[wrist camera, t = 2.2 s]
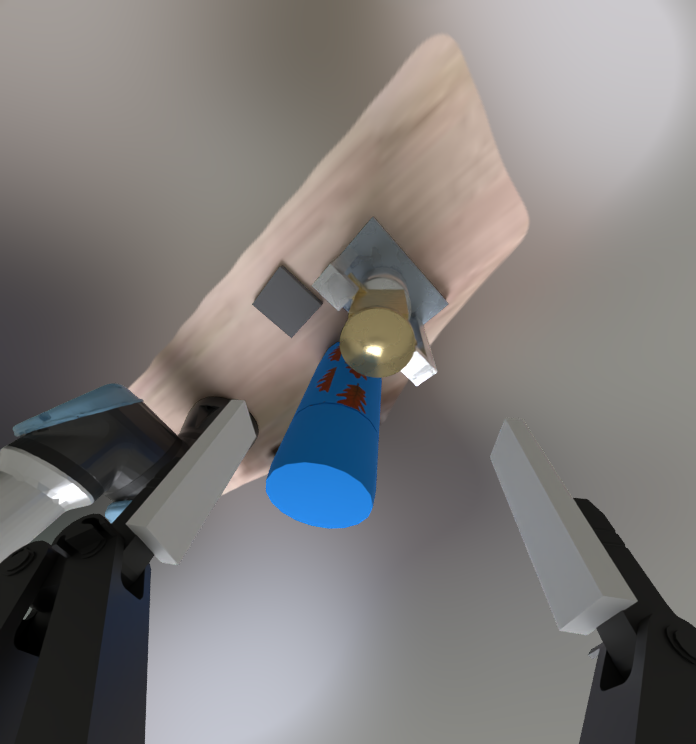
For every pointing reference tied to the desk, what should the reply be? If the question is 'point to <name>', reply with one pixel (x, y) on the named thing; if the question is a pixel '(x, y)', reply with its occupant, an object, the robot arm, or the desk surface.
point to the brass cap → (377, 332)
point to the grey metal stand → (385, 287)
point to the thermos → (330, 449)
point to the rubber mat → (287, 302)
